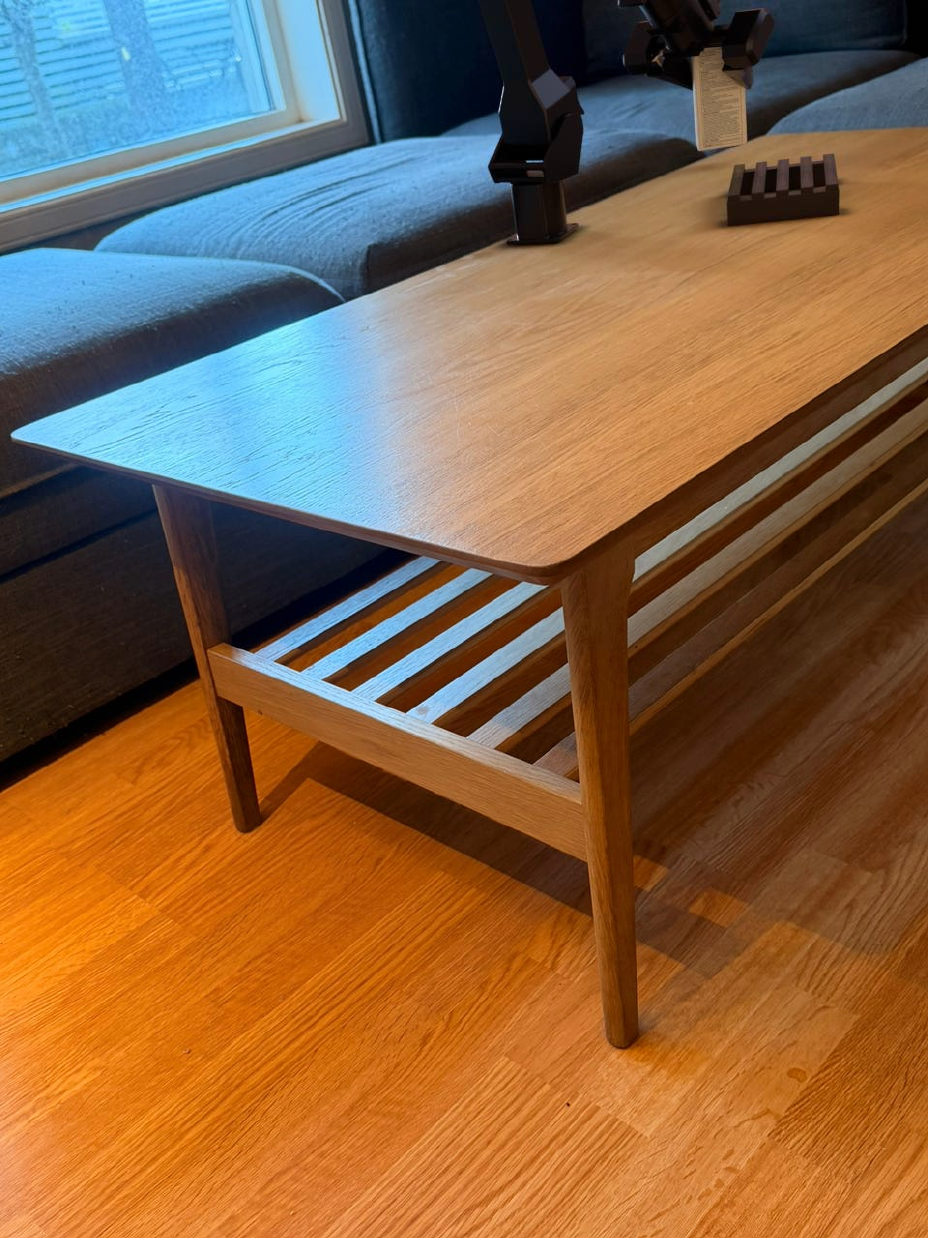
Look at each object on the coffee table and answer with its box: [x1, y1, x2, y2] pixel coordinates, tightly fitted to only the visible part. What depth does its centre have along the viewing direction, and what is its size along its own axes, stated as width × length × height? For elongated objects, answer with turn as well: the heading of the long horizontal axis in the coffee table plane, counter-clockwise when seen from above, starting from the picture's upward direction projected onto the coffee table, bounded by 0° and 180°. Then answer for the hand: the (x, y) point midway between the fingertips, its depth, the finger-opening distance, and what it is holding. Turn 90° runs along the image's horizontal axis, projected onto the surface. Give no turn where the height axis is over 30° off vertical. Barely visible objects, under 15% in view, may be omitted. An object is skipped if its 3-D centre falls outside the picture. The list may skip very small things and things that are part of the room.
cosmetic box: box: [690, 47, 748, 152], centre depth 140 cm, size 6×4×12 cm
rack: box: [726, 152, 841, 227], centre depth 121 cm, size 16×11×3 cm
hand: (725, 87), depth 141 cm, fingers closed on cosmetic box, 7 cm apart
